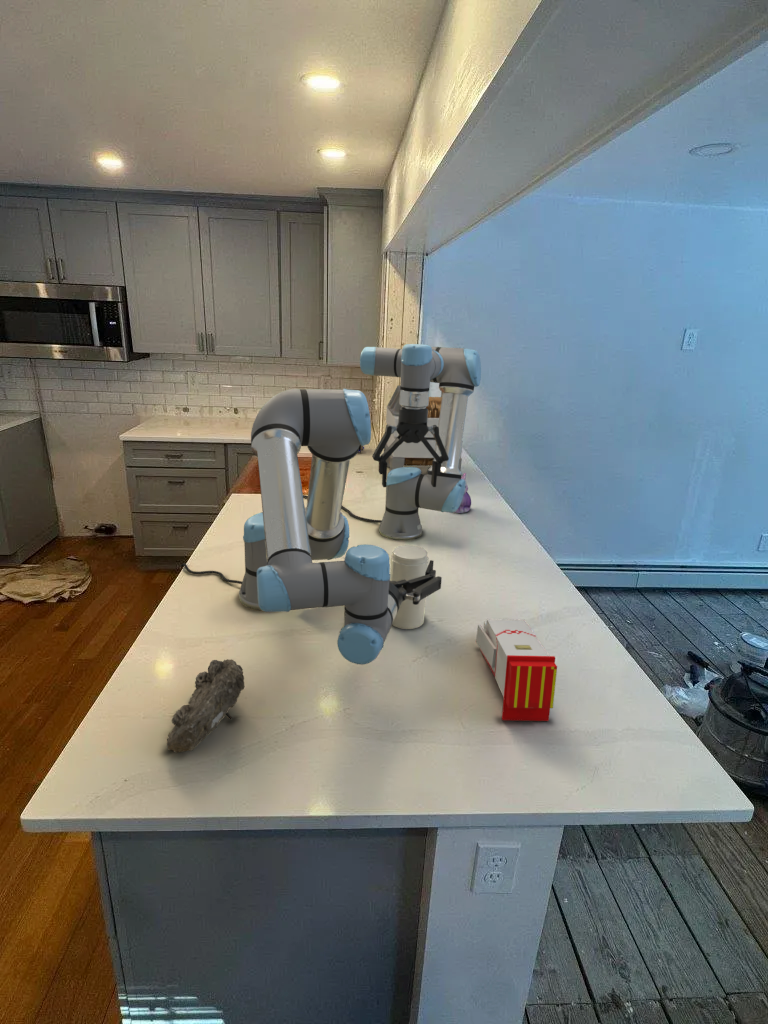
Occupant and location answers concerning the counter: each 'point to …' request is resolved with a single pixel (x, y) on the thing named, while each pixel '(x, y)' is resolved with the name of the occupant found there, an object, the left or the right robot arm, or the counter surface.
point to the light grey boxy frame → (412, 451)
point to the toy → (519, 668)
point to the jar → (407, 566)
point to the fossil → (206, 705)
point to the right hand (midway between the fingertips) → (408, 485)
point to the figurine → (464, 499)
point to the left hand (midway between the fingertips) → (401, 561)
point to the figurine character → (360, 448)
